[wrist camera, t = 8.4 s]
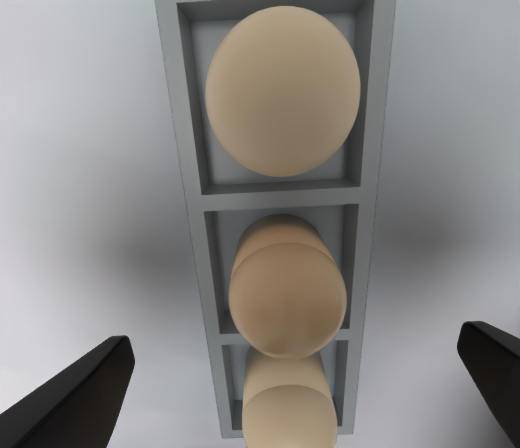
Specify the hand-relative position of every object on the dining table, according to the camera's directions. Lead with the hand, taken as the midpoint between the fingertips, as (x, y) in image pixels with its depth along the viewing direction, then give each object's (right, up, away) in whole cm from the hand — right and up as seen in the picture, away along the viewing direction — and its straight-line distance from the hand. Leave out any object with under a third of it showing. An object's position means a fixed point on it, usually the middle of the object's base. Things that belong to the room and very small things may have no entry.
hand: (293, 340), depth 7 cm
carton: (0, +2, +5) cm, 6 cm away
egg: (0, +2, +5) cm, 5 cm away
